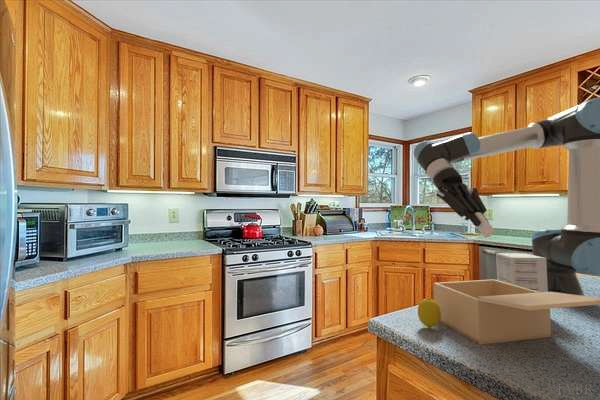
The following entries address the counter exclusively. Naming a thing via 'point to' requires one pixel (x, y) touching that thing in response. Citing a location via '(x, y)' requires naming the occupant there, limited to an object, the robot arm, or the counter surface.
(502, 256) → the supplement box
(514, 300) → the carton flap
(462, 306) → the carton
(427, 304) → the lemon
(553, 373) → the counter surface
